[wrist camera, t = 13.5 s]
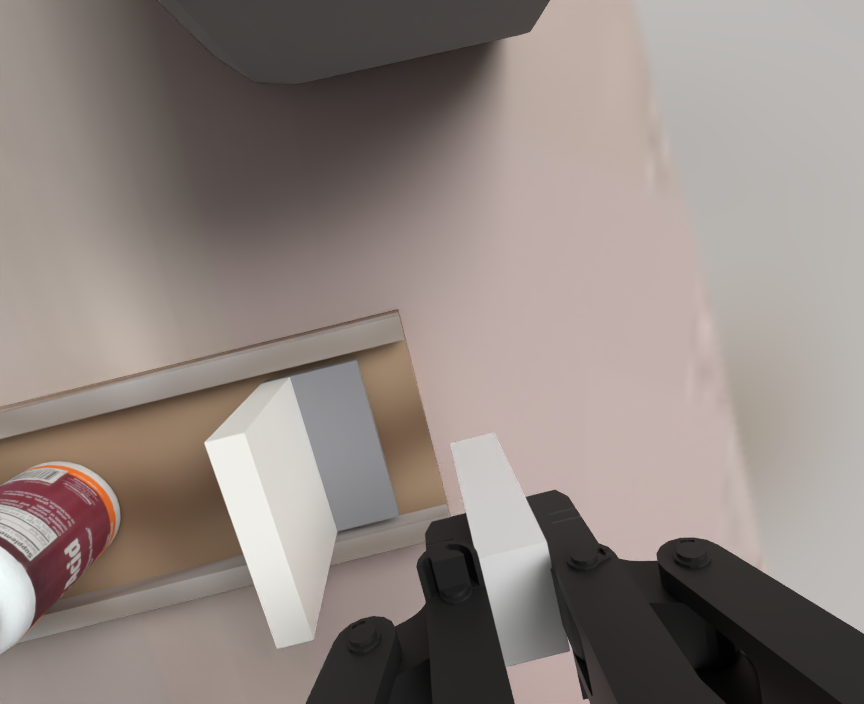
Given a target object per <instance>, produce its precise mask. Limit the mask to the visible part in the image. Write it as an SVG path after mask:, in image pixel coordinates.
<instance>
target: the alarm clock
mask: <svg viewBox="0 0 864 704" xmlns="http://www.w3.org/2000/svg"><path fill="white" fill-rule="evenodd" d="M157 1H158V2H159V3H160V4H161V5H162V6H163V7H164V8H165V9H166V10H167V11H168V12H169V13H170V14H171V15H172V16H174V17H175V18H176V19H177V20H178V21H179V22H180V23H181V24H182V25H183V26H184V27H185V28H186V29H187V30H188V31H189V32H190V33H191V34H192V35H193V36H194V37H195V38H196V39H197V40H198V41H199V42H200V43H201V44H202V45H203V46H204V47H205V48H206V49H207V50H208V51H209V52H210V53H211V54H212V55H213V56H215V57H216V58H218V59H219V60H221V61H222V62H224V63H225V64H227V65H228V66H230V67H231V68H233V69H234V70H236V71H237V72H239V73H240V74H242V75H243V76H245V77H246V78H248V79H249V80H251V81H253V82H259V83H266V84H301V83H306V82H310V81H315V80H319V79H324V78H328V77H333V76H337V75H342V74H346V73H351V72H355V71H360V70H364V69H369V68H373V67H378V66H382V65H387V64H391V63H396V62H400V61H405V60H409V59H414V58H418V57H423V56H427V55H432V54H436V53H441V52H445V51H450V50H454V49H459V48H463V47H468V46H472V45H477V44H481V43H486V42H490V41H495V40H499V39H504V38H508V37H513V36H517V35H521V34H524V33H528V32H530V31H531V30H532V28H533V27H534V25H535V23H536V22H537V20H538V19H539V17H540V15H541V14H542V12H543V11H544V9H545V7H546V6H547V4H548V3H549V1H550V0H157Z"/></svg>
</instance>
